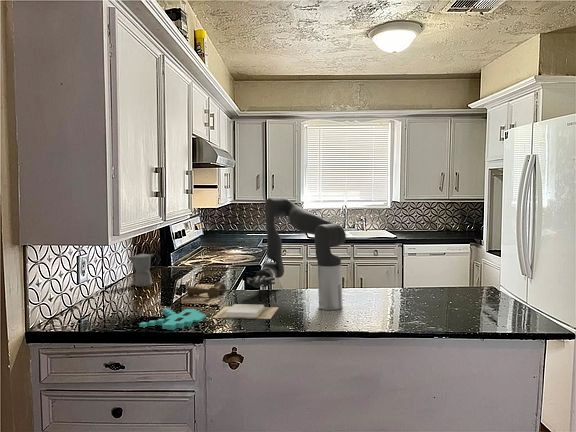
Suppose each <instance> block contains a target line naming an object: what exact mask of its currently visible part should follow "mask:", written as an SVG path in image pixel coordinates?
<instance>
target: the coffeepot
mask: <svg viewBox="0 0 576 432" xmlns="http://www.w3.org/2000/svg"><path fill="white" fill-rule="evenodd" d="M139 252H140V253H139V254H136V255H132V256H128V260H129V261H131V263H132V264H133V268H134V270H135V273H134V282H133V286H134V285H135V286H134V287H137V286H138V288H139V287H150V286H152V285H153V284H154V283H153V278H152V274H151V272H150V269H151V263H152V262H151V261H152V259H153V258H155V263H154V267H152V270H156V269H157V268H158V264H159V261H160V258H161V257H160V256H159V254H158V253H148V254H147V253H144V250H143V249H141V250H139Z"/></svg>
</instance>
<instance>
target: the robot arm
mask: <svg viewBox="0 0 576 432" xmlns="http://www.w3.org/2000/svg"><path fill="white" fill-rule="evenodd" d="M264 216H265V226H266V229H265V230H266V238H267V242H266V243H267V244H266V258H268V259H269V260H272V261H274V262H271V261H267V262H264V263H263V265H262V268H261V269H260V270H259V271H257V273H256V274H255V275H254V277H252V278H251V277H247V278H246V283H247V285H249V286H252V287H253V288H255V289H257V288H266V287H269V286H270V285H274V284H276V279H277V278H278V279H279V278H282V277H283V276H284V273H285V267H284V266H285V265H284V263H283V259H282V250H283V248H282V247H283V243H282V238H281V236H280V234H279V232H278V230H277V229H276V226H275V218H282V217H283V218H285V217H286V218H289V219H288V220H289V221H288V222H289V223H290V225H291V226H292V227H293V228H294V229H295V230H297V231H299V232H301V233H305V234H308V235H314V247H315V258H316V260H317V287H318V293H317V294H318V308H319V309H321V310H324V311H336V310H342V309H343V281H342V259H341V257H340V256H339V255H335V254H333V253H332V251H331V250H332V249H331V248H336V247H339V246H342V245H343V244H344V243H345V241H346V237H347V235H346V231H345V229H344V228H343V227H342V226H341V225H340V224H338V223H336V222H333V221H330V220H326V219H324V218H322V217H320V216H319V215H317V214H314V213H312V212H311V211H309V210H308V209H306V208H303V207H300V206H299V205H296V204H295V203H294V202H292V201H291V200H290V199H288V198H287V197H285V196H284V197H283V196H279V197H269V198H267V199H266V200H265V202H264Z"/></svg>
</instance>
